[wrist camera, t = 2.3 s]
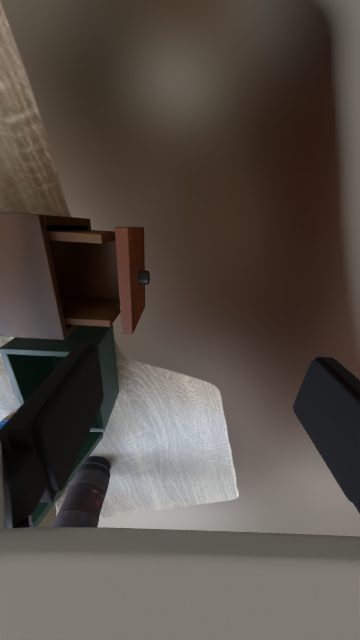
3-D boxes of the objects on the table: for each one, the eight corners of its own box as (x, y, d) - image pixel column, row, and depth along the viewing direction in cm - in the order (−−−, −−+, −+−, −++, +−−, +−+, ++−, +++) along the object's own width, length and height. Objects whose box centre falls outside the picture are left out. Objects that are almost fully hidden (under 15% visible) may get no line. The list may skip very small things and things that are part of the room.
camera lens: (120, 464, 49) (97, 557, 35) (99, 478, 51) (70, 570, 37) (93, 449, 46) (57, 542, 32) (72, 463, 48) (31, 556, 35)
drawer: (153, 228, 26) (141, 228, 18) (153, 306, 31) (143, 335, 23) (41, 221, 26) (-21, 218, 18) (58, 301, 30) (14, 328, 22)
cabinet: (90, 219, 26) (38, 214, 17) (99, 305, 32) (64, 340, 22) (-20, 212, 26) (-137, 203, 17) (7, 300, 31) (-70, 333, 22)
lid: (-120, 518, 15) (-134, 597, 15) (34, 522, 16) (25, 600, 15) (26, 428, 31) (22, 466, 30) (103, 431, 31) (100, 469, 31)
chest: (40, 320, 33) (-2, 348, 25) (112, 324, 33) (92, 353, 25) (57, 389, 39) (28, 428, 31) (118, 392, 39) (104, 432, 31)
